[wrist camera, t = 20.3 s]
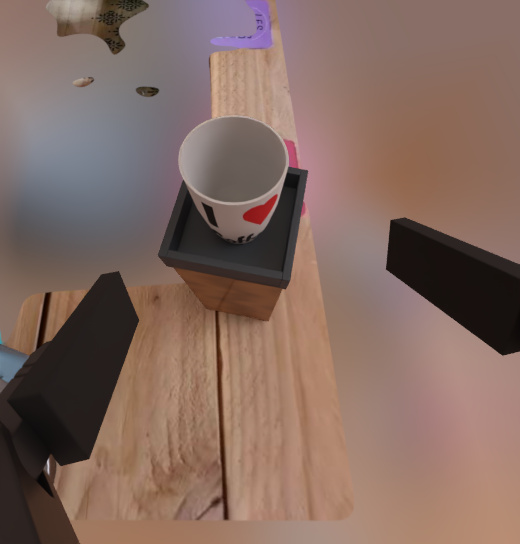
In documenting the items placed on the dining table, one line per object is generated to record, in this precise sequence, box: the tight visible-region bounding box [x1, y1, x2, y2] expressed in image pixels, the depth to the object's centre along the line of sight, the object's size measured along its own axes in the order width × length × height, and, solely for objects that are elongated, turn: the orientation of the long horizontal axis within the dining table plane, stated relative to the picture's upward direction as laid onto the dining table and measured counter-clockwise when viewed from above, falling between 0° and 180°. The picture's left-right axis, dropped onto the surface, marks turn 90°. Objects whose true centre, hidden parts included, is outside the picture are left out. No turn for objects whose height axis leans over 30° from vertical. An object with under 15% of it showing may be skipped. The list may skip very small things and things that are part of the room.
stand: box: [173, 267, 282, 321], centre depth 42 cm, size 12×12×25 cm
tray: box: [158, 167, 308, 289], centre depth 29 cm, size 13×13×3 cm
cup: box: [178, 115, 289, 244], centre depth 25 cm, size 8×8×10 cm
